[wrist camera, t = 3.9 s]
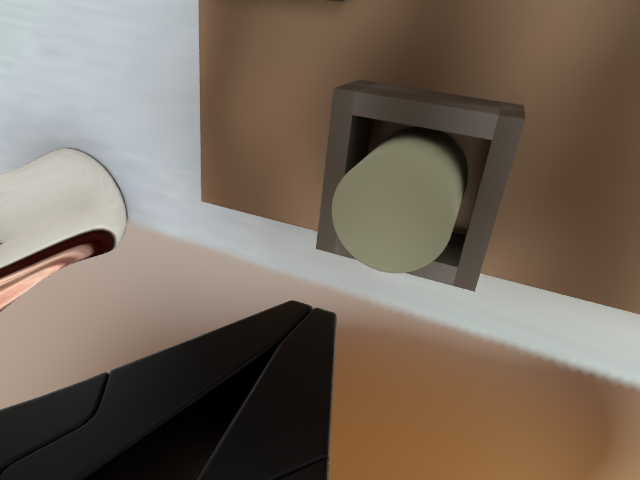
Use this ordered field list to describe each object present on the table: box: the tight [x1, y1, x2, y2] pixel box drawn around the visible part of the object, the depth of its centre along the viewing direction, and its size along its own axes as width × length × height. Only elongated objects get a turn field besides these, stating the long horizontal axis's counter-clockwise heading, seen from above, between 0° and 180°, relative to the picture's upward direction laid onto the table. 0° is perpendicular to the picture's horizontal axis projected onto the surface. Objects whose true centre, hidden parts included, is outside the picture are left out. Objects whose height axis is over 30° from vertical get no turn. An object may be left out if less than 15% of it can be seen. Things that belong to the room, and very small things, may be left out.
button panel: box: [199, 0, 640, 314], centre depth 14 cm, size 19×16×4 cm
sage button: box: [332, 126, 468, 273], centre depth 15 cm, size 3×3×4 cm
